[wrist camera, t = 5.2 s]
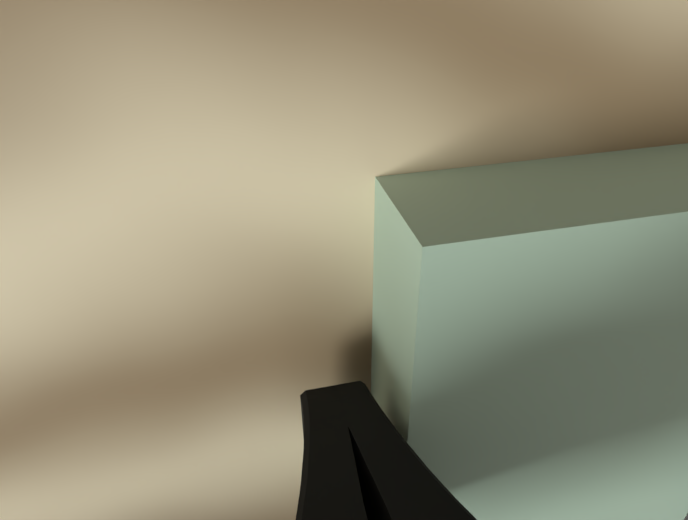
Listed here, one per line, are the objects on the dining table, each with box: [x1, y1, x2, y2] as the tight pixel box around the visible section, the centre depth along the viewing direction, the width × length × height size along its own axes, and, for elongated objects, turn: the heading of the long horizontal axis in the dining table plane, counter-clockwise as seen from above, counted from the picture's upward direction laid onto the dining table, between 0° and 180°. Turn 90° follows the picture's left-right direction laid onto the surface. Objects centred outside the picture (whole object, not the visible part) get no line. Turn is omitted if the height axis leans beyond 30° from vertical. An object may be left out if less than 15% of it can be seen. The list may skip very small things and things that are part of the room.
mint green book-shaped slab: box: [371, 143, 688, 520], centre depth 12 cm, size 10×8×2 cm
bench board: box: [0, 0, 688, 520], centre depth 13 cm, size 18×28×1 cm, turn 91°
